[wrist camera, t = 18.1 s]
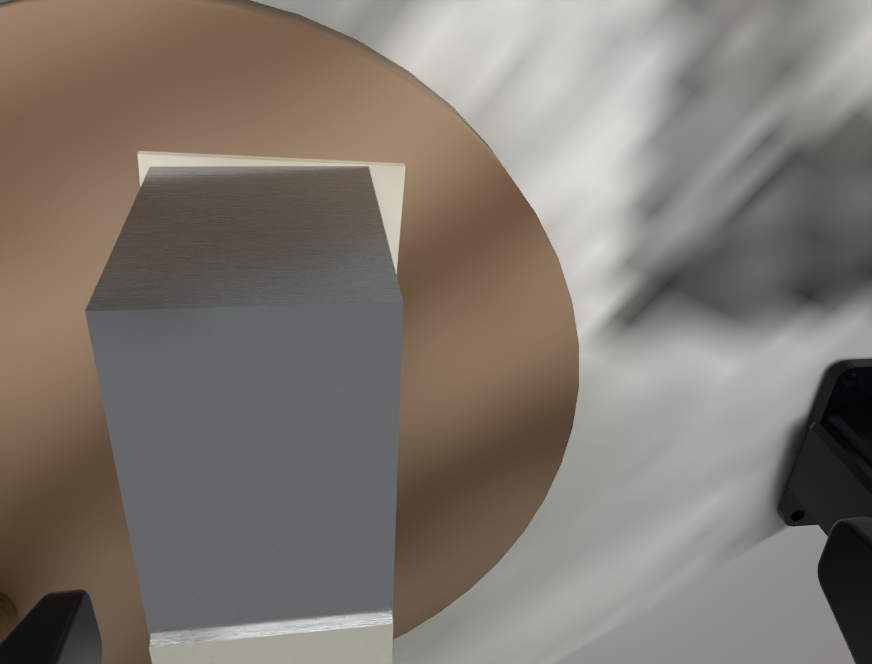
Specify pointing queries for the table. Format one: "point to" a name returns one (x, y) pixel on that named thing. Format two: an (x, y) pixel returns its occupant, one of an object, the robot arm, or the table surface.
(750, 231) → the table surface
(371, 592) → the brushed steel bar
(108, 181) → the dial
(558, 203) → the table surface
